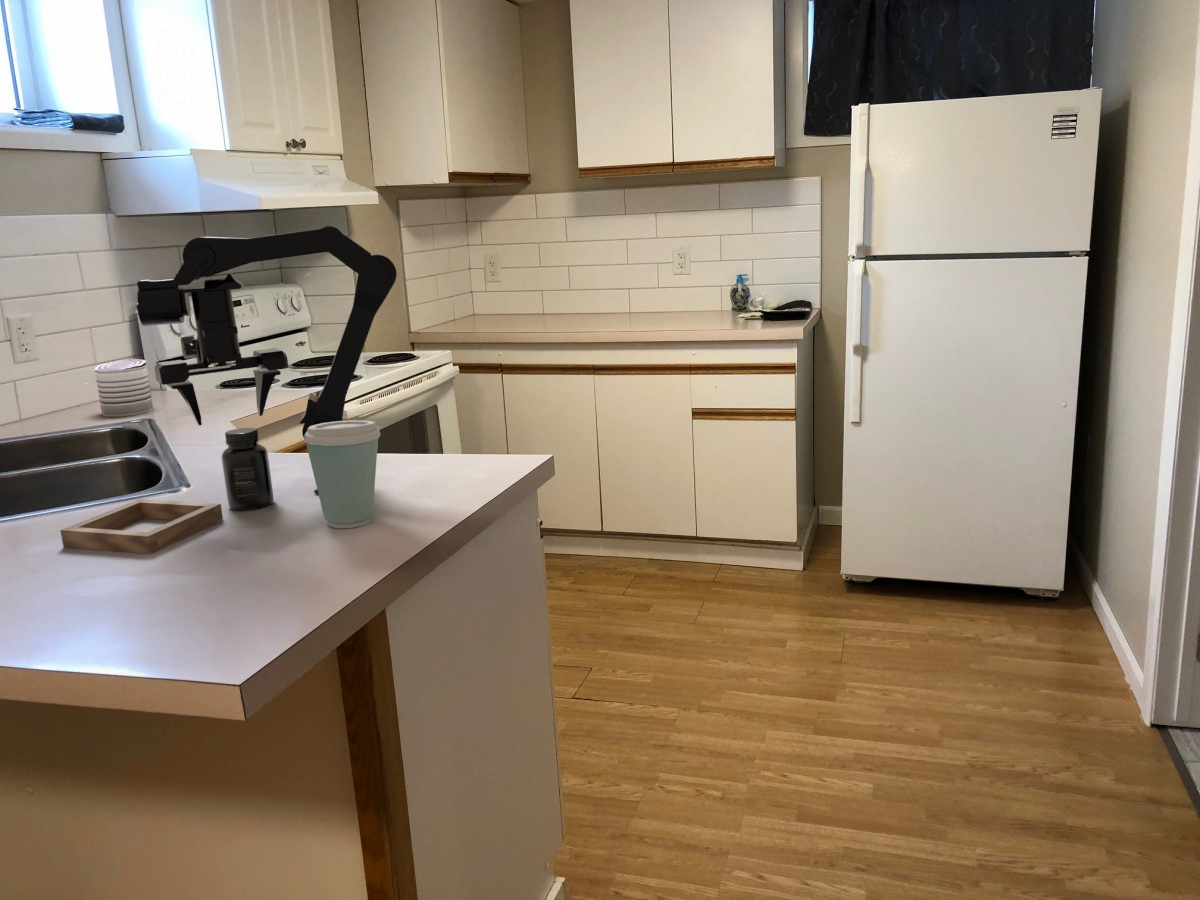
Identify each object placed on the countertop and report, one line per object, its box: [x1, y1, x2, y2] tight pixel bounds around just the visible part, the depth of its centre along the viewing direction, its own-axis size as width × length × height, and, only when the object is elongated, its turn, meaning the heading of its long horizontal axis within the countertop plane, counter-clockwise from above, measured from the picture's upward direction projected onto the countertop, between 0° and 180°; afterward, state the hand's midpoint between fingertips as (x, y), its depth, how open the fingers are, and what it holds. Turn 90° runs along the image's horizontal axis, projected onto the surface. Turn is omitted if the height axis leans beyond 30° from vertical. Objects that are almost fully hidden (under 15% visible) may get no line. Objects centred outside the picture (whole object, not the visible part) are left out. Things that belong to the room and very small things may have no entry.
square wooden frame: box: [59, 498, 224, 555], centre depth 141 cm, size 15×15×2 cm
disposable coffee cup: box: [303, 419, 381, 529], centre depth 141 cm, size 11×11×15 cm
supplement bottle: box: [221, 427, 275, 511], centre depth 152 cm, size 7×7×12 cm
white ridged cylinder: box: [92, 358, 154, 418], centre depth 235 cm, size 11×11×12 cm
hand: (230, 420), depth 153 cm, fingers open, 9 cm apart
